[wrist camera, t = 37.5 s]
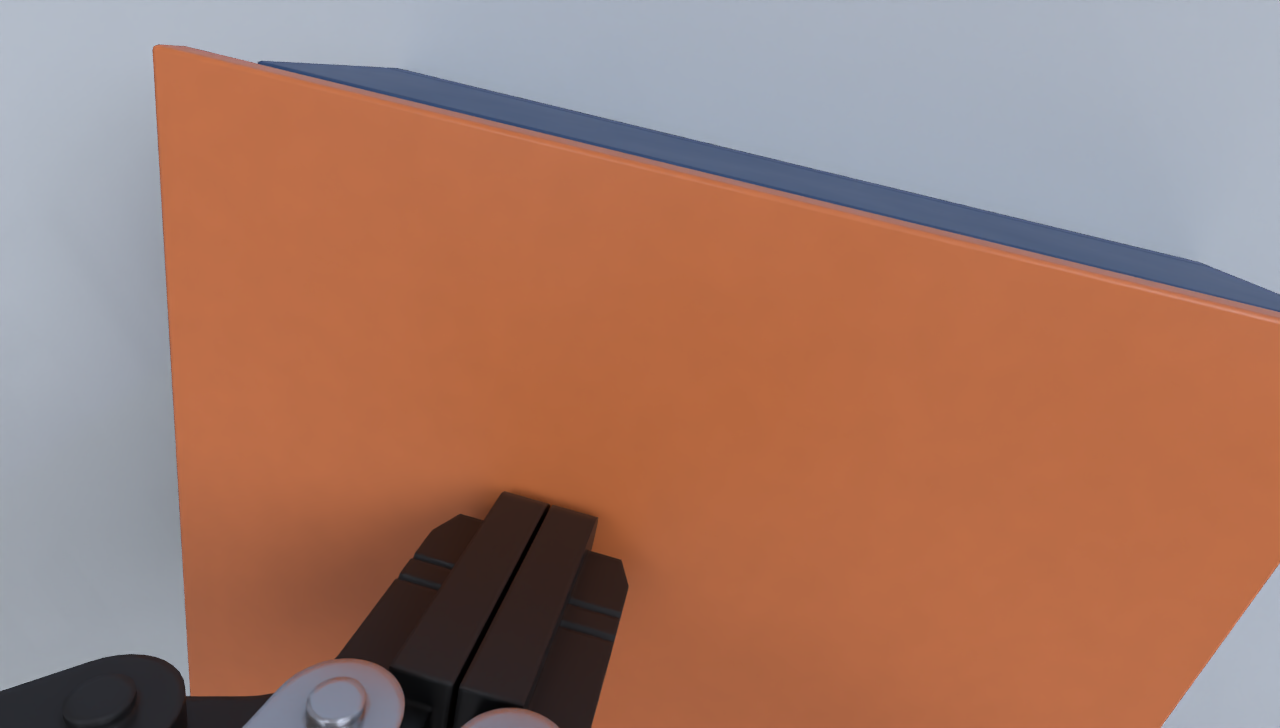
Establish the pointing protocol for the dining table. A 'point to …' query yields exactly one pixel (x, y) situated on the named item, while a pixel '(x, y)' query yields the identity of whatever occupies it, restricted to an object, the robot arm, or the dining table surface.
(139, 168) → the dining table surface
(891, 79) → the dining table surface
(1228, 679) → the dining table surface
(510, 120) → the lunchbox
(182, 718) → the robot arm
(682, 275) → the lunchbox lid
